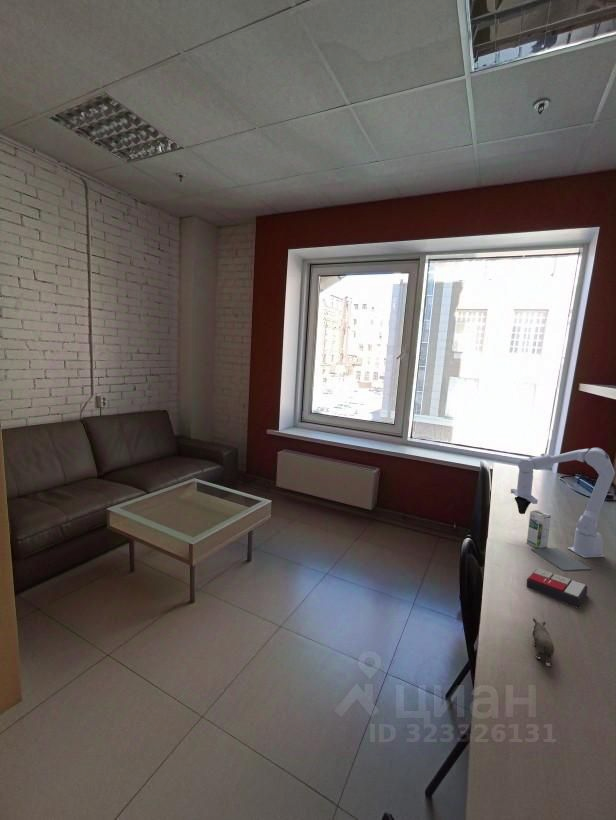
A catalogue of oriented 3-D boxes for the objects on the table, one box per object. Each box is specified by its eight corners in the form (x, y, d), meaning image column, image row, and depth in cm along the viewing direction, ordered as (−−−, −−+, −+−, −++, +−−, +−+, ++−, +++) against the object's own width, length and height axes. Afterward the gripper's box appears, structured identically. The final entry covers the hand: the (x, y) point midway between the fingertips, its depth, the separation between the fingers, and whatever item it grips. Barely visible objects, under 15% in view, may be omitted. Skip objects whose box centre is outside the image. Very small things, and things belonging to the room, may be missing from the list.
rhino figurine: (544, 633, 103) (546, 614, 102) (554, 669, 90) (557, 647, 90) (527, 629, 104) (529, 609, 104) (535, 663, 92) (538, 641, 91)
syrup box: (525, 542, 159) (529, 511, 157) (535, 541, 161) (538, 509, 159) (538, 549, 153) (542, 516, 152) (548, 547, 156) (551, 514, 154)
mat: (556, 548, 154) (556, 548, 154) (590, 569, 138) (591, 568, 138) (531, 549, 152) (531, 549, 152) (563, 570, 137) (563, 569, 137)
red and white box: (536, 566, 133) (587, 583, 121) (536, 577, 133) (587, 595, 122) (526, 577, 125) (579, 596, 114) (525, 589, 126) (578, 609, 114)
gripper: (505, 479, 171) (503, 507, 173) (528, 490, 157) (525, 520, 159) (519, 479, 172) (516, 507, 174) (543, 489, 158) (539, 519, 160)
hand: (521, 513), depth 166 cm, fingers closed
